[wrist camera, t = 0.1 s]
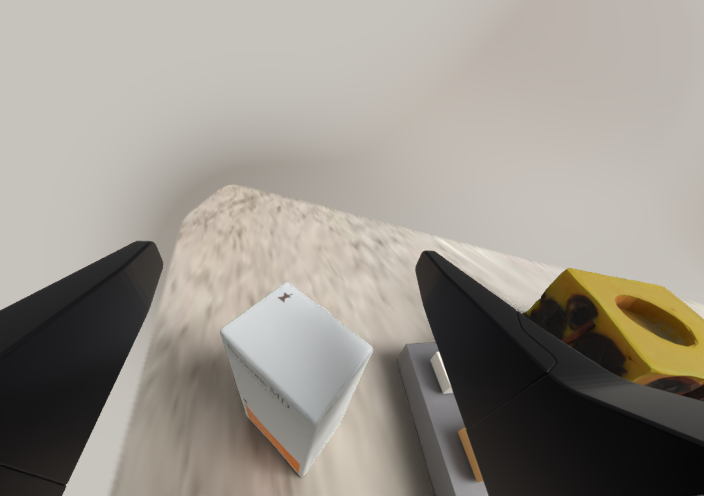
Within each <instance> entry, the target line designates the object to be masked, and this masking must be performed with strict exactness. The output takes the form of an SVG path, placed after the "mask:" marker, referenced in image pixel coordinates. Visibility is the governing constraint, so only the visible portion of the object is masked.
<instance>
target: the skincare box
mask: <svg viewBox="0 0 704 496" xmlns="http://www.w3.org/2000/svg"><path fill="white" fill-rule="evenodd" d="M220 334H221V337H222V340H223V343H224V347H225V350H226V353H227V356H228V359H229V362H230V365H231V369H232V372H233V375H234V378H235V381H236V385H237V388H238V391H239V394H240V397H241V400H242V403H243V406H244V410H245V413H246V416H247V417H248V418H249V419H250V420H251V421H252V422H253V423H254V424H255V426H256V427H257V428H258V429H259V430H260V431H261V432H262V433H263V434H264V435H265V436H266V437H267V439H268V440H269V441H270V442H271V443H272V444H273V445H274V446H275V447H276V449H277V450H278V451H279V452H280V453H281V455H282V456H283V457H284V458H285V459H286V460H287V462H288V463H289V464H290V465H291V466H292V468H293V469H294V470H295V471H296V472H297V474H298V475H299V476H300V477H301V478H303V477H304V476H305V474H306V473H307V472H308V470H309V469H310V467H311V466H312V464H313V463H314V461H315V460H316V458H317V457H318V455H319V454H320V453H321V451H322V450H323V448H324V447H325V445H326V444H327V442H328V441H329V439H330V438H331V437H332V435H333V434H334V432H335V431H336V429H337V428H338V426H339V424H340V423H341V421H342V418H343V416H344V414H345V412H346V409H347V407H348V405H349V403H350V400H351V398H352V396H353V393H354V391H355V389H356V386H357V384H358V382H359V380H360V378H361V375H362V373H363V371H364V369H365V367H366V365H367V363H368V361H369V359H370V357H371V355H372V352H373V347H372V346H371V345H370V344H369V343H367V342H366V341H365V340H363V339H362V338H361V337H359V336H358V335H357V334H355V333H354V332H353V331H352V330H350V329H349V328H348V327H346V326H345V325H344V324H342V323H341V322H340V321H339V320H338V319H337V318H336V317H335V316H334V315H333V314H331V313H330V312H329V311H328V310H326V309H325V308H324V307H322V306H320V305H318V304H317V303H315V302H314V301H312V300H311V299H310V298H308V297H307V296H306V295H304V294H303V293H302V292H300V291H299V290H298V289H296V288H295V287H294V286H292V285H291V284H290V283H288V282H285V283H284V284H282V285H281V286H280V287H278V288H277V289H276V290H274V291H273V292H272V293H270V294H269V295H267V296H266V297H265V298H263V299H262V300H260V301H259V302H258V303H256V304H255V305H253V306H252V307H251V308H249V309H248V310H246V311H245V312H243V313H242V314H241V315H239V316H238V317H237V318H235V319H234V320H232V321H231V322H230V323H228V324H227V325H226V326H225V327H223V328H222V329H221V330H220Z"/></svg>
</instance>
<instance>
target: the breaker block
mask: <svg viewBox="0 0 704 496" xmlns="http://www.w3.org/2000/svg"><path fill="white" fill-rule="evenodd" d="M436 352H439V350H438V347H437V344H436V342H433V343H416V344H406V345H405V347H404V349H403V351H402V352H401V354H400V356H399V358H398V359H397V362H398V366H399V369H400V373H401V376H402V380H403V383H404V387H405V390H406V394H407V397H408V401H409V404H410V408H411V412H412V415H413V419H414V422H415V426H416V429H417V433H418V436H419V440H420V443H421V447H422V450H423V454H424V457H425V461H426V464H427V468H428V471H429V475H430V479H431V482H432V486H433V489H434V493H435V496H488V493H487V490H486V487H485V484H484V482H479V483H477V481H476V478H475V476H474V473H473V470H472V468H471V465H470V463H469V460H468V457H467V455H466V452H465V449H464V447H463V444H462V442H461V439H460V436H459V434H458V431H460V430H461V429H462V428H464V427H465V426H464V423H463V420H462V417H461V414H460V411H459V408H458V405H457V402H456V400H455V397H454V394H453V393H447V394H443V392H442V390H441V387H440V384H439V382H438V379H437V377H436V374H435V371H434V369H433V366H432V364H431V361H430V360H431V359H432V357H433V356H434V355H435V353H436Z"/></svg>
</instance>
